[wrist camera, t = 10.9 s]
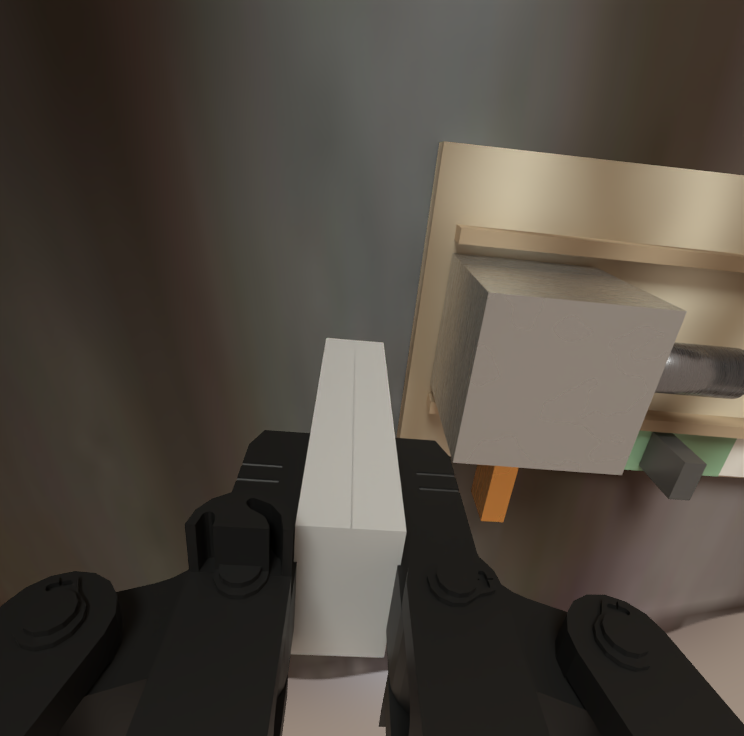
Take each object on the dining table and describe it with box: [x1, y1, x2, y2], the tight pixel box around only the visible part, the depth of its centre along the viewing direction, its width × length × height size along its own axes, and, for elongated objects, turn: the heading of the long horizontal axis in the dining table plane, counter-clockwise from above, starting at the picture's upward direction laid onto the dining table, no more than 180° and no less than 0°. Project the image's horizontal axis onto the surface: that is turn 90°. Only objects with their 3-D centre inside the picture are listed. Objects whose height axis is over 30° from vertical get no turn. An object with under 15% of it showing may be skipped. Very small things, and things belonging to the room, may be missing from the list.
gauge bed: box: [397, 141, 744, 478], centre depth 19 cm, size 26×14×7 cm, turn 84°
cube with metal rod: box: [430, 253, 744, 522], centre depth 19 cm, size 11×11×6 cm
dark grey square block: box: [639, 432, 707, 500], centre depth 22 cm, size 1×2×2 cm, turn 174°
